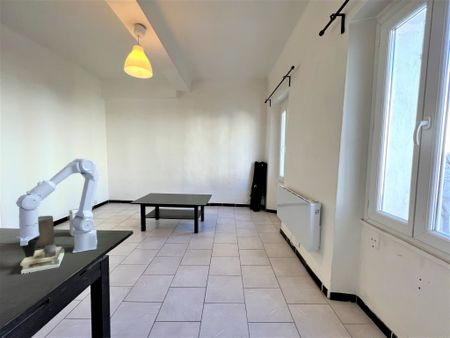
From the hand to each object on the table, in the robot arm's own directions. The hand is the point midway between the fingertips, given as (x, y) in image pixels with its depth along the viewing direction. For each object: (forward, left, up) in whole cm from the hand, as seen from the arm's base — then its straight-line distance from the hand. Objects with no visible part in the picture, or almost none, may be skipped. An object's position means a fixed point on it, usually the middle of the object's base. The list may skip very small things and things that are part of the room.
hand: (30, 256), depth 88 cm
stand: (-5, 0, -4) cm, 6 cm away
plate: (-4, 0, -1) cm, 4 cm away
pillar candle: (+1, -26, -4) cm, 26 cm away
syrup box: (-13, -35, -4) cm, 37 cm away
